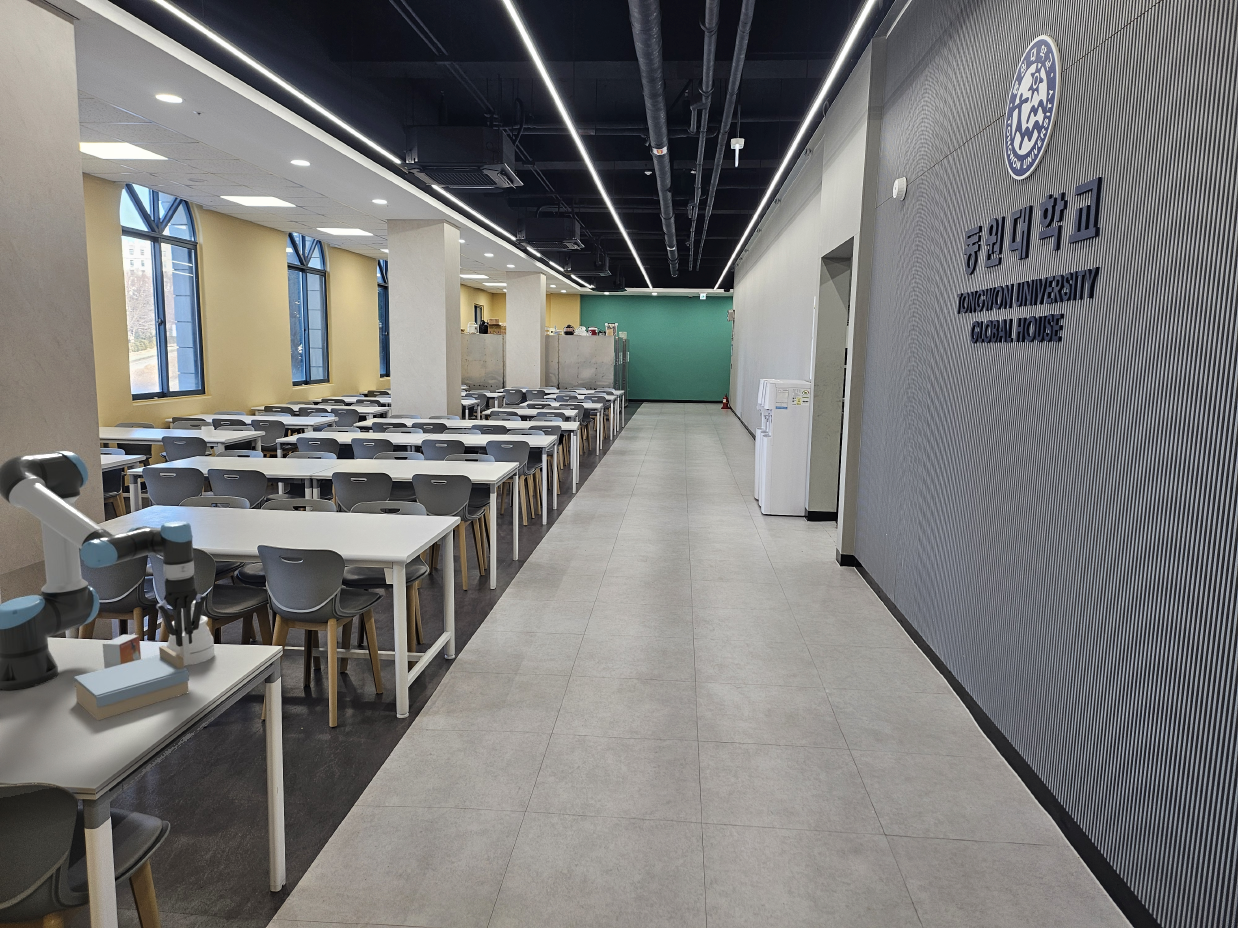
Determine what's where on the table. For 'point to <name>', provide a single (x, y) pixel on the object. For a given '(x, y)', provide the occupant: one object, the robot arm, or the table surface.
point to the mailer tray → (126, 700)
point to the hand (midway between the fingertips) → (185, 655)
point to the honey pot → (195, 642)
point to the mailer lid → (135, 677)
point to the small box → (121, 650)
